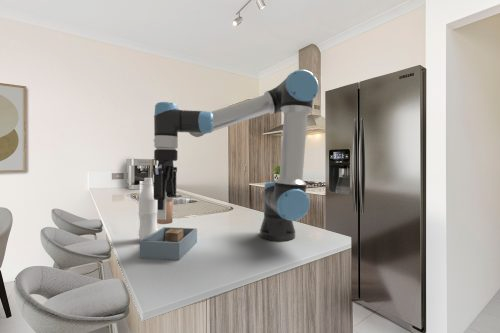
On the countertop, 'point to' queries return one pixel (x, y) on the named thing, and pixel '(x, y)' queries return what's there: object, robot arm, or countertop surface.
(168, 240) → the cube
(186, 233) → the tote
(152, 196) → the water bottle
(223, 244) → the countertop surface
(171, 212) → the capsule
